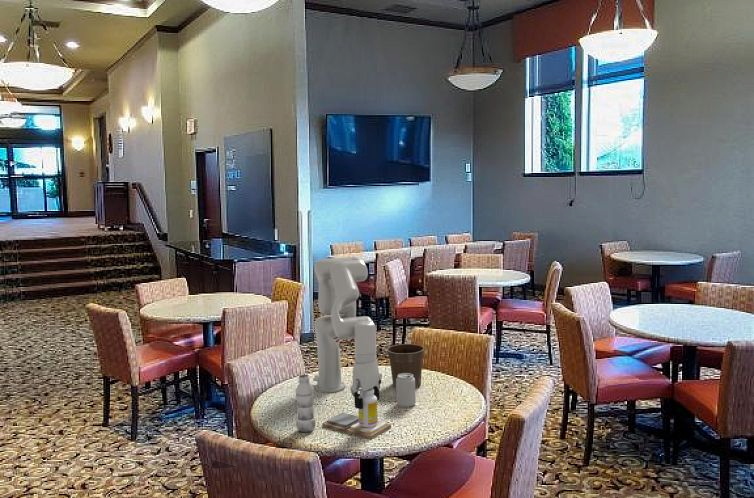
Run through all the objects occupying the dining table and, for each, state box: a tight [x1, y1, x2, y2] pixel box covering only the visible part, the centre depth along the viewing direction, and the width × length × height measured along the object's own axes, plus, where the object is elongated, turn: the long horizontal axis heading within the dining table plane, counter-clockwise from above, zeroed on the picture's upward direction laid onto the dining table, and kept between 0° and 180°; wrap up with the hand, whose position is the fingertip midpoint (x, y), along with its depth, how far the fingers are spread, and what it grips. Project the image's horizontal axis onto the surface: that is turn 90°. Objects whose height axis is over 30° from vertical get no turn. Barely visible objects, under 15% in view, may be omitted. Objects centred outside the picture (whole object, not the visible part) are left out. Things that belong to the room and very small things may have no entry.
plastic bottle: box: [294, 374, 316, 433], centre depth 219 cm, size 6×7×20 cm
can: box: [395, 373, 417, 408], centre depth 242 cm, size 8×8×12 cm
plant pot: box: [386, 343, 425, 389], centre depth 266 cm, size 16×16×16 cm
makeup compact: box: [321, 412, 392, 440], centre depth 222 cm, size 22×12×2 cm, turn 54°
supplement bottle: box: [358, 387, 379, 427], centre depth 218 cm, size 7×7×13 cm
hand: (367, 403), depth 218 cm, fingers open, 9 cm apart
